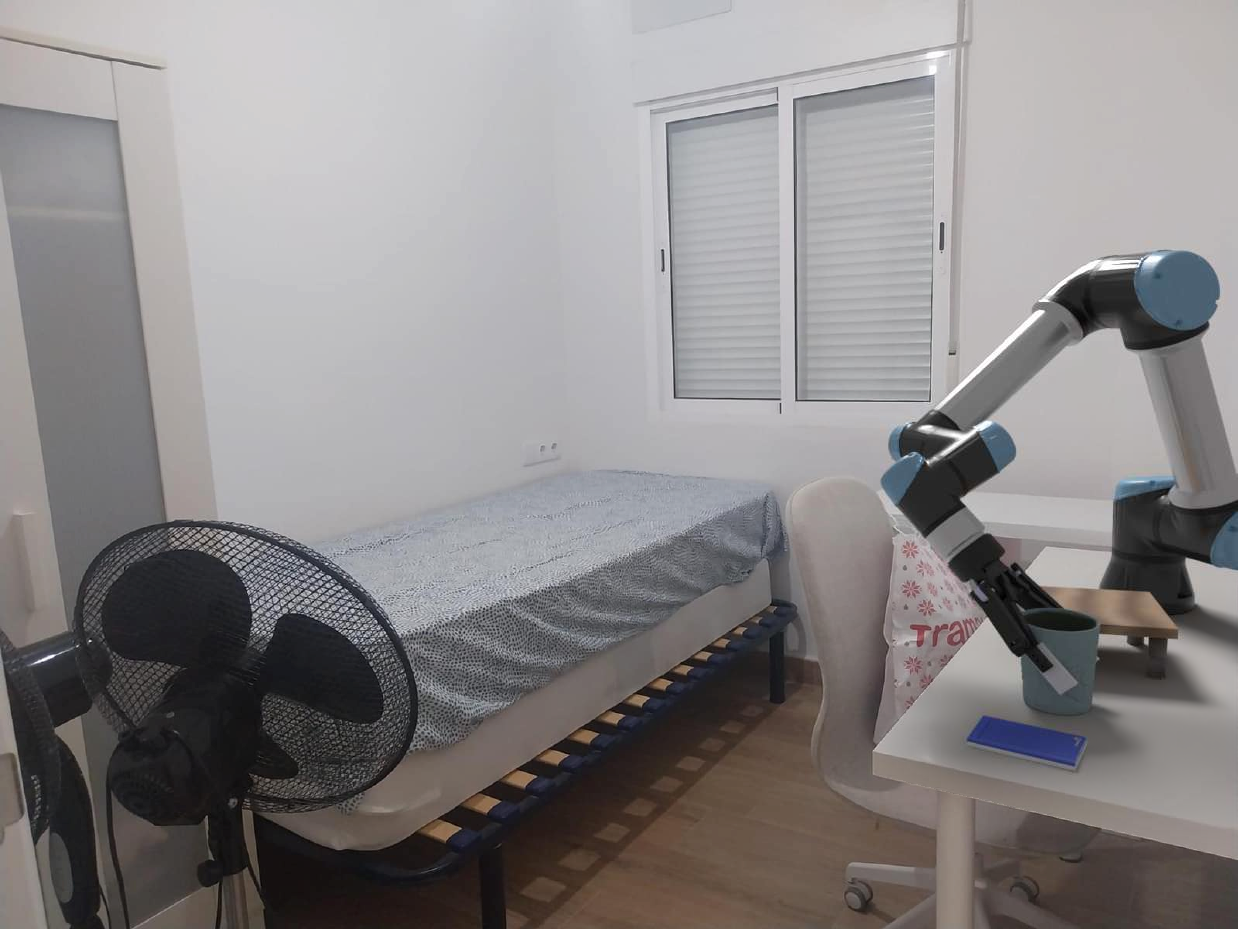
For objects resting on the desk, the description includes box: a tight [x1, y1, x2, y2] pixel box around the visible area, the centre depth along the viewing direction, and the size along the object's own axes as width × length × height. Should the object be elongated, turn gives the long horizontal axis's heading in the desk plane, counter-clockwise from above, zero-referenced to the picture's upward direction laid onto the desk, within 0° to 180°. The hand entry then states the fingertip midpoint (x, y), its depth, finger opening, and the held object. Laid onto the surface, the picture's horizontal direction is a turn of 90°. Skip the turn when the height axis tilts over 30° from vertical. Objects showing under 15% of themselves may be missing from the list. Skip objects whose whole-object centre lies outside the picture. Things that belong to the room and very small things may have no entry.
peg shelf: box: [1017, 585, 1179, 680], centre depth 141 cm, size 20×18×8 cm
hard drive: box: [966, 714, 1089, 772], centre depth 114 cm, size 2×8×12 cm
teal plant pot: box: [1020, 608, 1101, 716], centre depth 125 cm, size 10×10×12 cm
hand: (1080, 676), depth 123 cm, fingers closed on teal plant pot, 10 cm apart
